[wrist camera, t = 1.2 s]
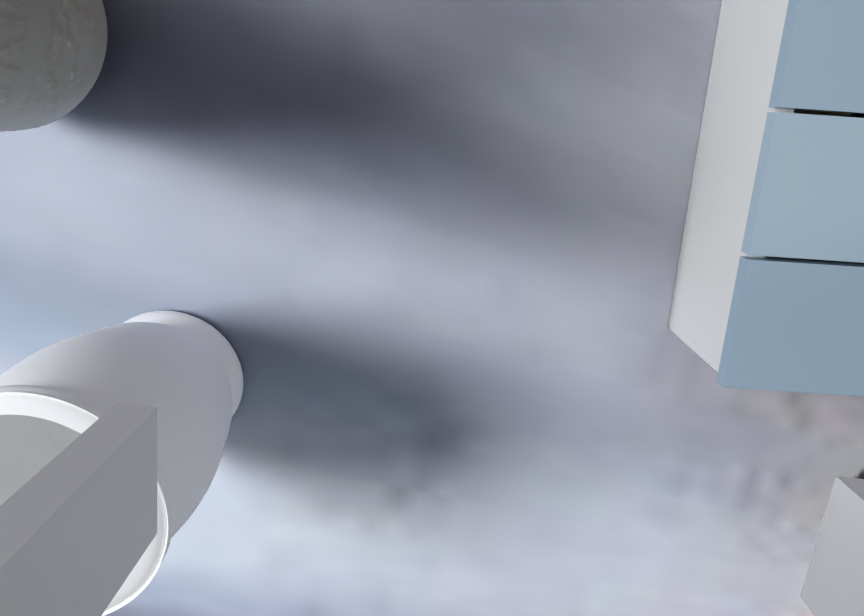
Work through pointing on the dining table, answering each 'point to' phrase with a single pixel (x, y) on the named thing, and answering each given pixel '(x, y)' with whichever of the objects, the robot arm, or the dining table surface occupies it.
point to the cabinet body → (727, 170)
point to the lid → (806, 218)
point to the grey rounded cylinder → (48, 58)
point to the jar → (130, 384)
